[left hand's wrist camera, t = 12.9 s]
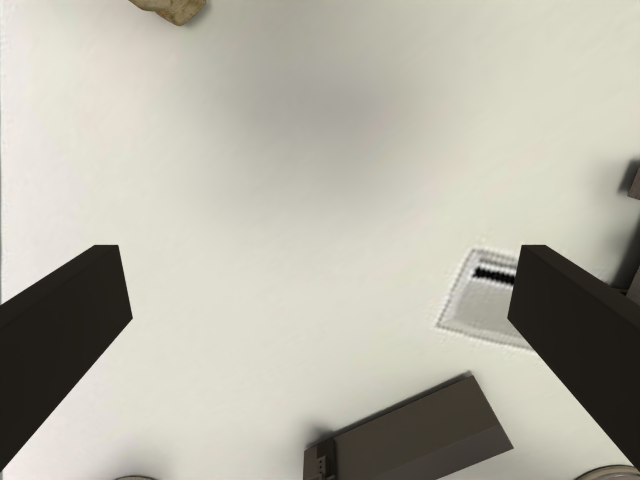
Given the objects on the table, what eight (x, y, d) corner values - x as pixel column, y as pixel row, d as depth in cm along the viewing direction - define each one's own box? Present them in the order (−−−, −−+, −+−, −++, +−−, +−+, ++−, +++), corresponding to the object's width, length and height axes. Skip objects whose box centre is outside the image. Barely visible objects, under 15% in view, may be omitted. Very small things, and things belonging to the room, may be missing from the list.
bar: (473, 374, 52) (500, 424, 44) (485, 396, 53) (514, 448, 45) (304, 450, 57) (301, 507, 49) (319, 469, 58) (319, 527, 50)
